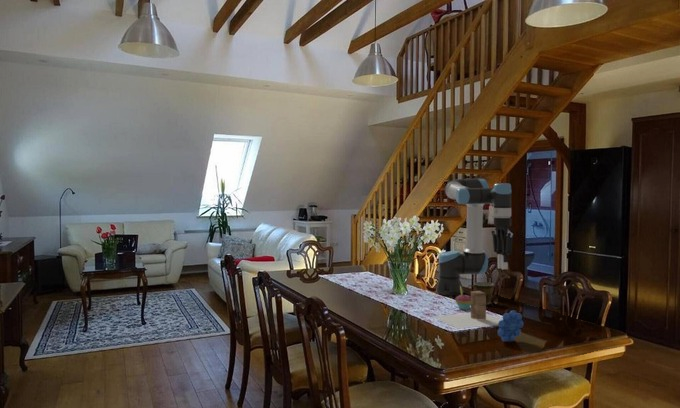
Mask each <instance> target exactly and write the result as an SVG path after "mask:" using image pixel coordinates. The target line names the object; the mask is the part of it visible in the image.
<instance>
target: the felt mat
mask: <svg viewBox="0 0 680 408" xmlns="http://www.w3.org/2000/svg"><path fill="white" fill-rule="evenodd" d="M434 318H435V319H437V320H439V321H441V322H443V323H445V324H446V325H449V326H451V327H453V328H455V329H457V330H459V329H466V328H476V327H483V326H486V327H487V326H491V325H492V326H495V325H498V323H499V321H501V320H503V318H502V319H501V318H499V317H496V316H494V315H491V314H489V313H487V312H486V320H479V321H477V320H475V319H472V318H471V312H467V313H465V312H464V313H457V314H456V313H455V314H448V315H446V314H445V315H441V316H440V315H439V316H434Z"/></svg>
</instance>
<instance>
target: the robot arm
mask: <svg viewBox="0 0 680 408" xmlns="http://www.w3.org/2000/svg"><path fill="white" fill-rule="evenodd" d="M444 194H445V196H447V197H448V198H449V199H451V200H456V203H457V204H459V205H465V206H466V238H465V239H466V240H465V241H466V242H465V243H466V245H465V246H466V247H465V248H464V249H463V253H461V252H460V251H459V250H450V251H445V252H444V251H443V252H442V253H440V254H439V255H438V281H437V284H436V288H435V293H436V294H438V295H442V296H459V295H461V291H460V286H461V288H462V295H464V287H463V283H462V282H461V275H475V276H477V275H483V274H485V273H486V272H487V270H488V267H489V266H488V265H489V257H488V254H487V253H486V251H485V250H484V249H483V217H484V216H483V215H484V214H483V212H484V211H483V210H484V206H485V205H487V204H489V205H490V204H491V205H493V216H494V218H493V226H494V227H495V229H494V230H491V234H492V244H493V245H492V246H493V252H494V253H496V260H497V269H501V270H508V269H509V268H508V264H509V263H508V262H509V255H511V254H512V252H513V242H514V241H513V240H514V236H515V233H514V232H511V229H510V227H511V226H512V218H511V217H512V185H511V183H508V182H507V183H494V185H493V187H490V186H489V183H488V181H487V180H486V179H484V178H457V179H453V180H450V181H448V183H446V185H445V187H444Z"/></svg>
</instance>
